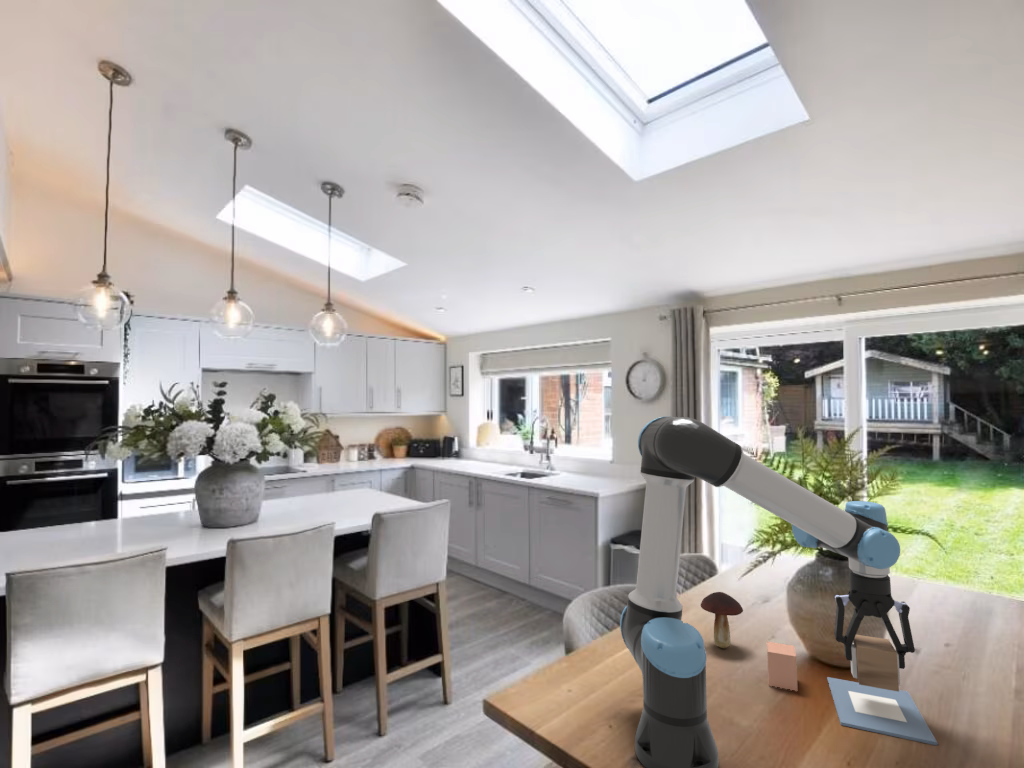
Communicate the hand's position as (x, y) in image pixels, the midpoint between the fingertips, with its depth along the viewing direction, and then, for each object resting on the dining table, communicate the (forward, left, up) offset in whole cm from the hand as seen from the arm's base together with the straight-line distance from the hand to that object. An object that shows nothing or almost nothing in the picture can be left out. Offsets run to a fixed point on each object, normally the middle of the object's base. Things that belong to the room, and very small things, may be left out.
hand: (875, 678), depth 112 cm
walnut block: (0, 0, 0) cm, 0 cm away
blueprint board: (0, 0, -6) cm, 6 cm away
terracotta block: (+4, +18, -7) cm, 20 cm away
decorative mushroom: (+18, +32, -7) cm, 37 cm away
